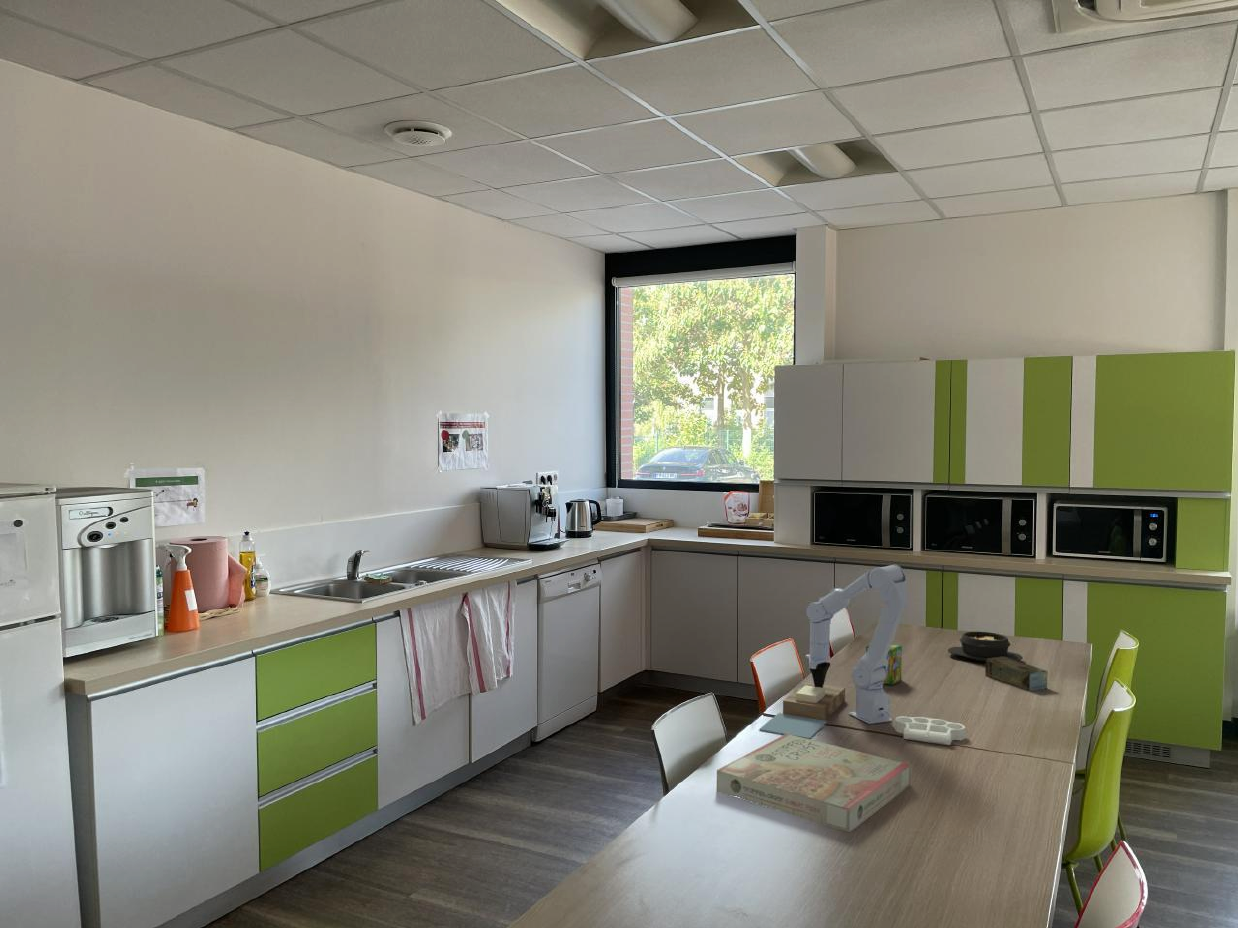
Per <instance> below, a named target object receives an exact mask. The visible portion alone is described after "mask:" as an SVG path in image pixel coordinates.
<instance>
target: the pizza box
mask: <svg viewBox="0 0 1238 928" xmlns="http://www.w3.org/2000/svg"><path fill="white" fill-rule="evenodd" d="M910 785H911V764H909V763H905V762H901V761H897V760H895V759H890V758H889V759H888V758H884V757H883V756H882V757H881V756H878V755H873V754H870V753H867V752H866V753H865V752H861V751H857V750H854V749H849V748H844V747H841V746H838V745H833V744H829V743H825V742H821V741H817V740H813V739H806V738H802V737H798V736H793V735H789V734H785V735H782V736H779V737H778V738H775V739H774V740H772V741H770V742H768V743H766V744H764V745H762V746H760V747H758V748H756V749H754V750H753V751H751V752H749V753H747V754H745V755H743V756H741V757H739V758H738V759H737V758H736V759H735V760H733V761H732V762H729V763H728V764H726V765H724V766H722V767H720V768H718V769H716V793H720V792H721V793H720V794H723V793H724V795H727V794H728V795H727V796H730V795H732V796H731V797H733V796H737V797H740V798H742V799H741V800H743V799H745V800H744V801H746V800H748V801H747V802H749V801H752V802H754V803H753V804H756V803H758V804H757V805H759V804H761V805H760V806H762V805H764V806H763V807H765V806H767V807H766V808H769V807H771V808H770V809H772V808H773V809H772V810H775V809H777V810H776V811H778V810H780V811H779V812H781V811H782V813H785V812H786V813H785V814H788V815H792V816H795V817H798V818H801V819H805V820H808V821H812V822H814V823H818V824H821V825H824V826H827V827H830V828H833V829H836V830H840V831H843V832H846V833H851V832H852V831H853V830H854V829H856V828H857V827H858V826H859V825H861V824H862V823H863V822H865V821H866V820H867V819H869V818H870V817H871V816H872V815H874V814H875V813H876V812H877V811H879V810H880V809H882V808H883V807H884V806H886V805H887V804H888V803H889V802H890V801H891V800H892V799H894V798H896V797H897V796H898V795H899V794H901V793H902V792H903V791H904V790H906V789H907V788H908V787H910ZM752 802H751V803H752Z"/></svg>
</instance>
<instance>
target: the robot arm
mask: <svg viewBox="0 0 1238 928" xmlns="http://www.w3.org/2000/svg"><path fill="white" fill-rule="evenodd" d="M908 580H909V579H908V577H907V575H906V573H905V571H904V570H903V568H902V567H901V566H899V564H898V565H897V564H891V565H887V566H881V567H874V568H873V569H871V570H869V571H867V572H864V574H862V575H861V576H860V577H858V578H856V579H855V580H854V581H853V582H851V583H850V584H849V585H847V586H846V587H845V588H839V587H838V588H836V587H834V588H832V589H829V593H828V594H826V595H825V596H821V597H819V598H818V601H817V602H815V601H814V602H810V603H809V605H807V607H806V617H807V618H808V620H809V654H806V655H805V658H806V659H808V665H807V666H808V669H809V670H810V673H811V676H812V680H813V683H814V685H815V687H820V688H823V685H825V681H826V677H827V672H828V670H829V669H830V667H831V663H830V660H831V657H830V655H831V654H830V640H831V639H830V637H831V636H830V635H831V633H830V632H831V631H830V630H831V628H830V627H831V620H832V619H833V618H834V616H835V614H838V613H839V612H841V611H842V610H843V609H845V608H846V607H848V606H849V605H850V602H851V599H852V598H854V597H856V596H857V595H859V594H860V593H862V592H865V591H867V589H873V590H874V591H875V592H876V594H878V596H879V597H880V598H881V599H882V600H883V602H884V606H883V608H882V612H881V613H880V617H879V620H878V622H877V624H876V627H875V630H874V632H873V634H872V635H873V636H872V638H871V640H870V643H869V644H868V645H869V648H868V650H867V653H866V652H865V654H864V655H862V656H861V658H860V659H859V662H858V664H856V666H854V667H853V668H852V671H851V679H852V681H853V683H854V684H855V688H856V689H855V711H850V712H849V715H850V716H852V717H854V718H856V719H858V720H860V721H862V722H864V723H867V724H868V725H873V724H879V723H887V722H892V721H893V719H892V718H891V716H890V714H891V713H890V711H891V710H890V709H891V699H890V696H889V694H888V693H887V692H885V690H884V688H883V686H884V684H883V681H884V680H885V679H886V677H887V666H888V663H889V662H888V660H887V659H886V657H887V654H888V651H889V649H890V646H891V644H893V640H894V638H895V635H896V634H897V631H898V628H899V625H900V622H901V621H902V618H903V615H904V613H905V610H906V607H907V605H908V598H907V597H908V596H907V582H908Z"/></svg>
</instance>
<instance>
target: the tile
mask: <svg viewBox="0 0 1238 928" xmlns="http://www.w3.org/2000/svg"><path fill="white" fill-rule="evenodd" d="M824 696H825V688H820V687H813V686H806V685H805V686H804V687H803V688H802V689H800V690H799V691H798V692H797V693H796V700H799V701H806V702H812V703H817V702H818V701H819V700H820V699H821V698H823V697H824Z"/></svg>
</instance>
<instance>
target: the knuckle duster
mask: <svg viewBox="0 0 1238 928" xmlns="http://www.w3.org/2000/svg"><path fill="white" fill-rule="evenodd" d="M894 730H895V732H897V733H898V734H899V733H900V734H903V739H904V740H905V739H906V741H909V740H910V741H915V742H922V743H926V742H927V744H928V743H930V744H936V745H937V744H938V745H945V746H948V745H952V742H953V741H952V740H960V741H963V740H962V739H964V740H965V739H966V726H965V725H964V724H963V723H958V722H951V721H948V720H944V719H941V718H940V719H939V718H931V717H924V716H915V717H911V716H904V715H902V716H900V715H899V716H896V717H895V719H894Z"/></svg>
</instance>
